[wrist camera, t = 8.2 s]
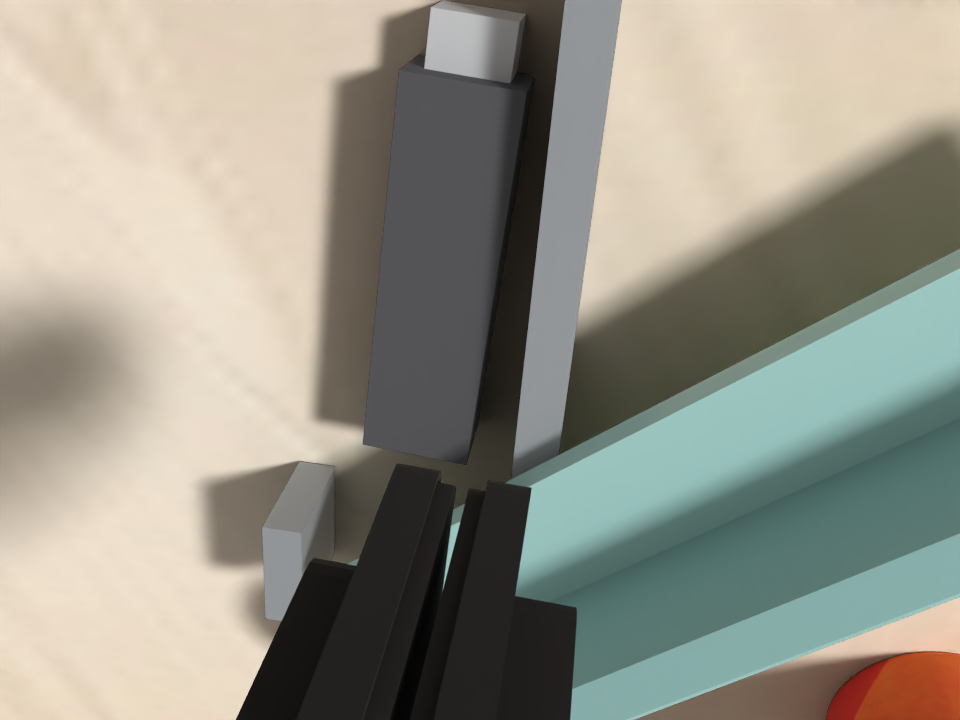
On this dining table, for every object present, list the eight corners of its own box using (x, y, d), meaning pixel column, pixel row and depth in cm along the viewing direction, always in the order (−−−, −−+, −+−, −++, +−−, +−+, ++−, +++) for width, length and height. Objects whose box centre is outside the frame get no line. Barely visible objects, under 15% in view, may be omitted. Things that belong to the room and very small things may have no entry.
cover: (1232, 108, 15) (1396, 165, 12) (1355, 418, 17) (1523, 539, 14) (264, 606, 24) (206, 721, 20) (426, 777, 26) (397, 906, 22)
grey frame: (288, -279, 18) (224, -312, 15) (654, -251, 17) (661, -281, 14) (301, 597, 28) (265, 676, 25) (532, 633, 27) (522, 720, 24)
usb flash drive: (424, -4, 20) (404, 7, 18) (544, 17, 19) (537, 29, 18) (381, 404, 24) (362, 444, 23) (478, 423, 24) (466, 464, 22)
